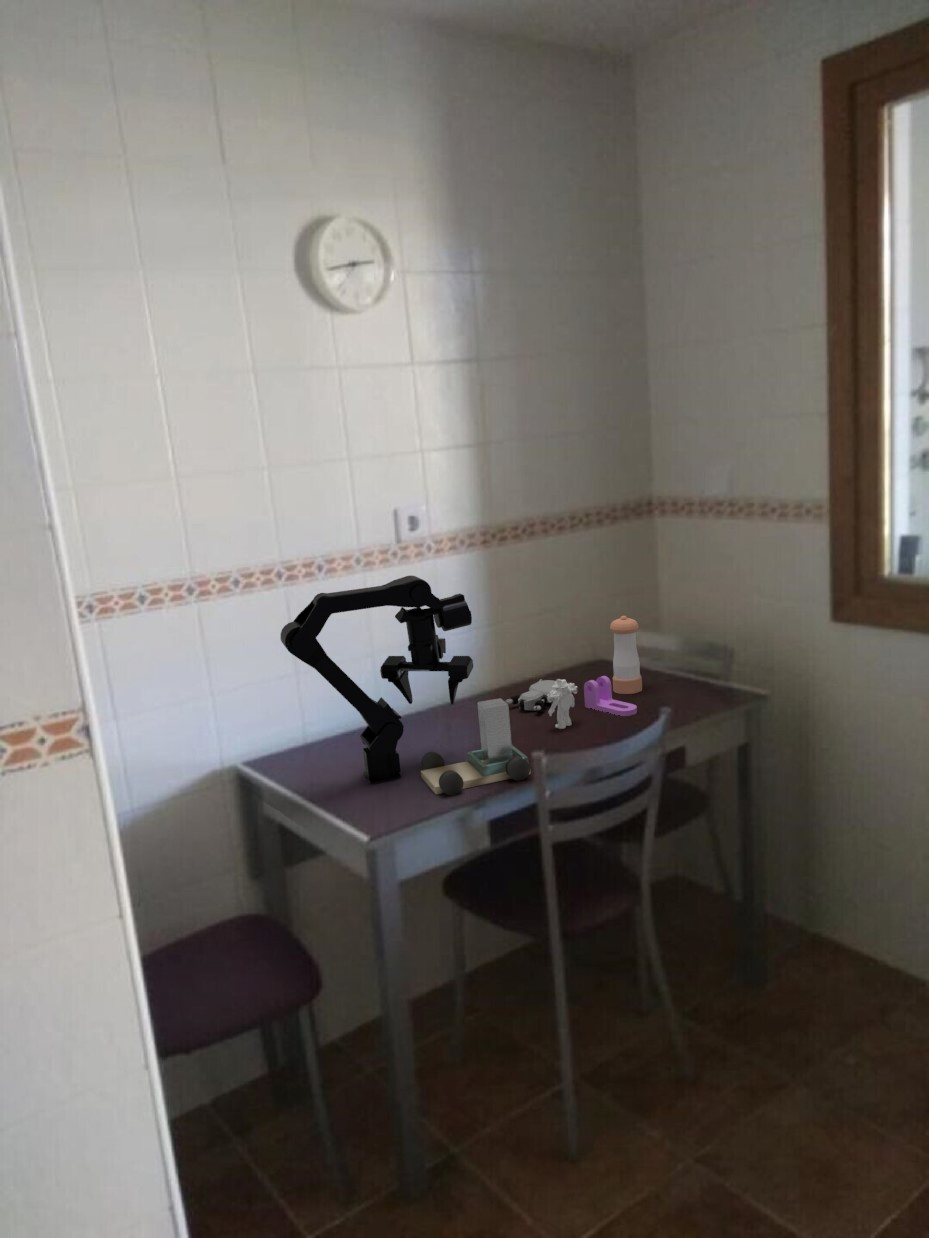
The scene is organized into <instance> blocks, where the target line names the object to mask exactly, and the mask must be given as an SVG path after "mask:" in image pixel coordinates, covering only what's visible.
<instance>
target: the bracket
mask: <svg viewBox="0 0 929 1238" xmlns="http://www.w3.org/2000/svg"><path fill="white" fill-rule="evenodd" d="M612 691H613V688H612V682H611V679H610V678H609V677H608V676H607V675H602V676H600V677H597V678H596V680H594V679H590V680H588V681H586V682H585V683H584V684H583V694H584V707H585V708H587V709H590V708H592V709H591V710H594V709H595V710H594V711H598V710H599V711H598V712H602V711H603V713H606V712H609V713H608V714H610V713H611V714H610V715H614V714H615V716H618V715H620V716H619V717H630V716H634V715H636V714H637V712H638V707H637V705H636V704H633V703H630V702H624V701H621V700H617V699H613V692H612Z"/></svg>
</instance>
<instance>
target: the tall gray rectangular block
mask: <svg viewBox="0 0 929 1238" xmlns="http://www.w3.org/2000/svg"><path fill="white" fill-rule="evenodd" d="M477 711H478V712H477V713H478V722H479V723H478V724H479V734H480V735H479V736H480V745H481V749H482V760H483V763H484V764H485V765H488V764H493V763H498V762H502V761H507V760H510V759H511V758H512V757H513V756H512V745H513V743H512V731H511V721H510V708H509V704H507V703H506V700H504V699H502V698H501V697H500V698H494V699H489V700H487V699H486V700H482V701H478V702H477Z"/></svg>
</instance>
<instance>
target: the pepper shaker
mask: <svg viewBox="0 0 929 1238" xmlns="http://www.w3.org/2000/svg"><path fill="white" fill-rule="evenodd" d="M609 628H610V631H611V633H613V646H614V651H613V661H612V668H613V676H612V691H613V692H614V693H615V694H616V693H617V694H618V695H619V694H620V695H632V694H633V695H634V694H638V693H639V692H642V691H643V678H642V675H641V673H640V671H641V666H640V665H641V663H640V659H639V654H638V653H639V652H638V650H637V634H636V632H638V630H639V628H640V626H639V623H638V622H637V620H635V619H633V618H630V617H627V615H622V616H620V618H617V619H615V620H612V621H611V623H610V626H609Z"/></svg>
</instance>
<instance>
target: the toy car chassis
mask: <svg viewBox="0 0 929 1238" xmlns="http://www.w3.org/2000/svg"><path fill="white" fill-rule="evenodd" d="M466 755H467V761H462V762H457V763H452V764H447V765H445V764H446V763H445V759H444V758H443V756H441V755H440V753H439V752H437V751H433V750H432V751H428V752H426V753H425V754H424V755H423V756H422V759H421V762H420V763H421V767H422V769H423V770H420V776H421V778H420V779H422V780H423V781H424V783H426V785H427V787H429V788H430V790H431V791H432V792H433V793H434V794H435V795H436V796H437V795H441V794H446V795H448V796H455V795H457V794H459V793H460V792H461V791H462V790H464V789H468V788H473V787H477V786H478V787H479V786H483V785H487V784H492V783H496V782H502V781H505V780H510V779H511V780H514V781H516V782H519V781H520V782H521V781H523V780H525V779H526V778H528V776H529V775H531V767H530V764H529V757H528V756H527V755H526V754H525V753H523V752H522V751H520V750H519V749H518V748H517V747H516V746H514V745H513V744H512V756H513V757H512V758H511V759H510V760H507V761H502V762H498V763H493V764H488V765H485V764H484V763H483V760H482V748H481V749H477V750H472V751H467V753H466Z"/></svg>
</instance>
